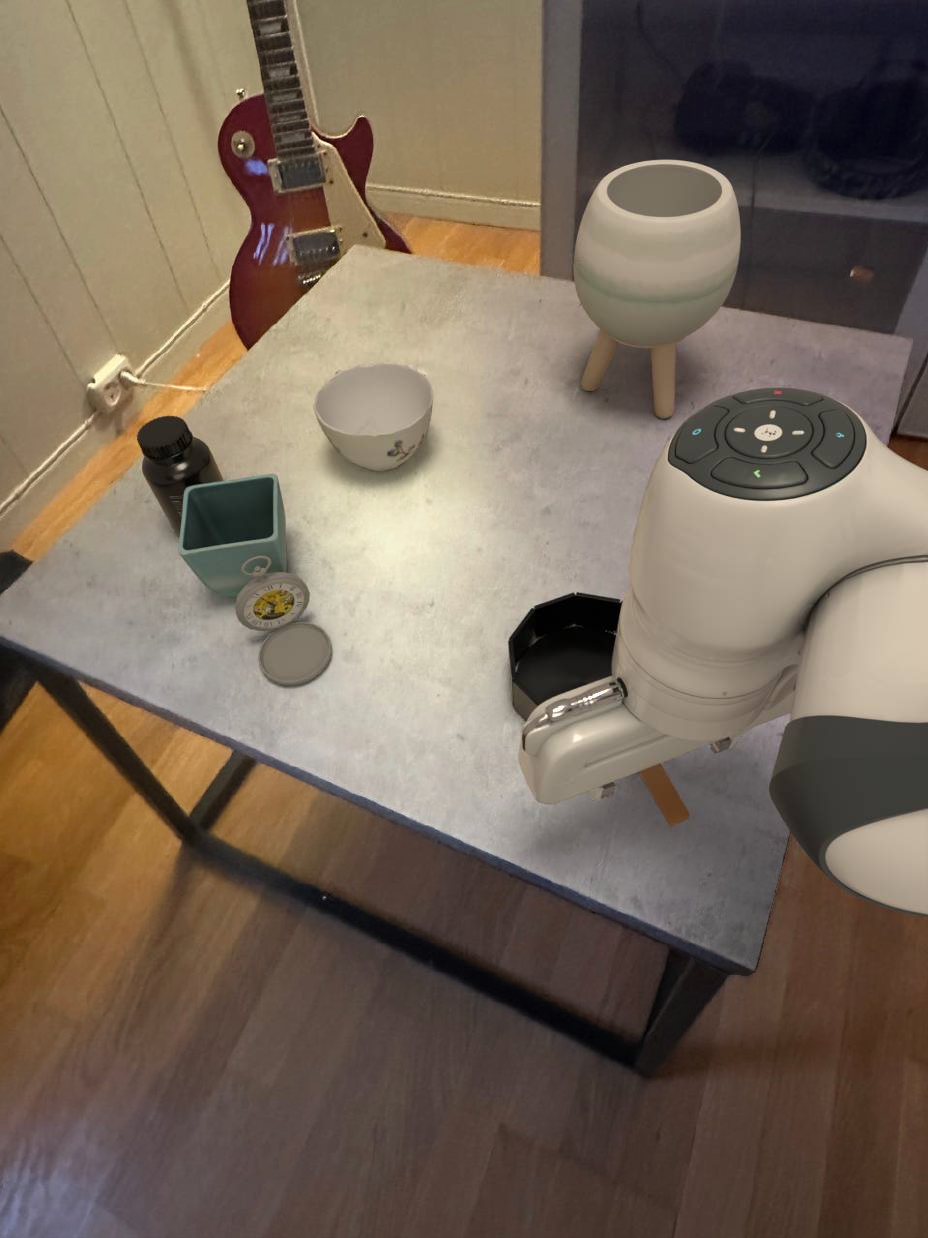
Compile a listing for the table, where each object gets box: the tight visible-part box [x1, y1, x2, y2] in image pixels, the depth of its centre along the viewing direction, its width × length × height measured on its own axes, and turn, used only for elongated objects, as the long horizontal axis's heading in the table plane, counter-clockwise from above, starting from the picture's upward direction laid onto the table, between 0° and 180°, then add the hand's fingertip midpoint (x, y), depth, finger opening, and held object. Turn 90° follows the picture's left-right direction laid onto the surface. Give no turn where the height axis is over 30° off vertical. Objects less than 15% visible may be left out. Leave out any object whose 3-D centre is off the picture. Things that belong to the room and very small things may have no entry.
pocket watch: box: [234, 556, 333, 686], centre depth 66 cm, size 8×8×10 cm
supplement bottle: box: [136, 415, 225, 537], centre depth 76 cm, size 7×7×12 cm
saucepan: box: [507, 591, 692, 828], centre depth 61 cm, size 21×13×5 cm, turn 20°
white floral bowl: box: [312, 361, 434, 472], centre depth 82 cm, size 15×12×8 cm
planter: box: [573, 159, 742, 419], centre depth 80 cm, size 16×16×22 cm
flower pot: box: [177, 473, 287, 598], centre depth 72 cm, size 9×9×9 cm
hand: (658, 765), depth 53 cm, fingers open, 8 cm apart
